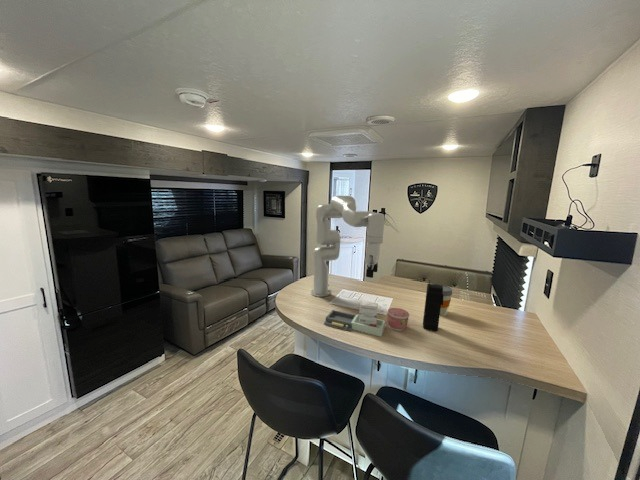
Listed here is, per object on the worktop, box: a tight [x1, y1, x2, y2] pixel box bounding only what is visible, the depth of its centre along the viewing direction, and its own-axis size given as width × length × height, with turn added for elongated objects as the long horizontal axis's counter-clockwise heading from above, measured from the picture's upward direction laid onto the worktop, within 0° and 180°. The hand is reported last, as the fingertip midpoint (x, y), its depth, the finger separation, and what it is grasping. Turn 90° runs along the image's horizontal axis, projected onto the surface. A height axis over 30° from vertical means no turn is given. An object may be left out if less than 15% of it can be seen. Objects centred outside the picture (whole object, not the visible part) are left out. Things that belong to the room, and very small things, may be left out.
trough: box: [351, 314, 386, 337], centre depth 127 cm, size 10×15×4 cm, turn 66°
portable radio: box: [422, 280, 443, 332], centre depth 127 cm, size 8×6×25 cm
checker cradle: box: [323, 309, 356, 332], centre depth 132 cm, size 14×14×3 cm
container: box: [386, 307, 410, 332], centre depth 128 cm, size 10×10×8 cm
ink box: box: [358, 301, 379, 327], centre depth 126 cm, size 9×5×12 cm, turn 75°
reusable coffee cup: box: [433, 283, 453, 316], centre depth 147 cm, size 12×13×15 cm
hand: (371, 274), depth 122 cm, fingers open, 9 cm apart
